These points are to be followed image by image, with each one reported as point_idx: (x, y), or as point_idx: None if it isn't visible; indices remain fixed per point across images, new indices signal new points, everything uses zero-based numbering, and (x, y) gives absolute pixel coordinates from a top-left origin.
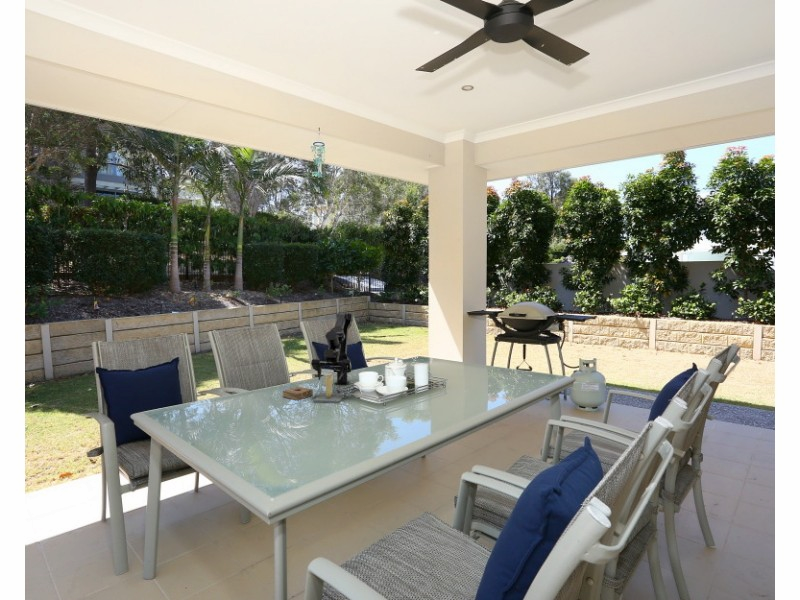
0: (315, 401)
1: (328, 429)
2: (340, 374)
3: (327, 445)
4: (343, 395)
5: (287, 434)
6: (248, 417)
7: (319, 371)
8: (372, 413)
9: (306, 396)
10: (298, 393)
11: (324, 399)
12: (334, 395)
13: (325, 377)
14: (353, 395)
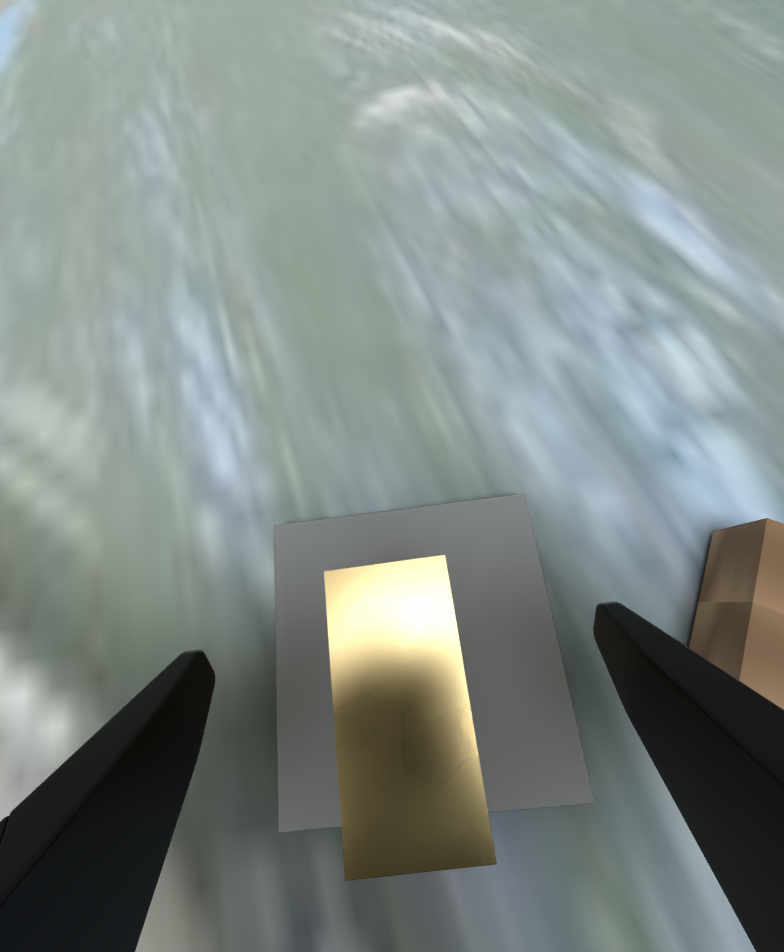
0: (503, 499)
1: (237, 110)
2: (75, 753)
3: (204, 5)
4: (279, 763)
5: (403, 30)
6: (772, 128)
7: (780, 768)
8: (13, 360)
9: None
10: (772, 543)
11: (429, 540)
12: None
13: (441, 556)
14: (189, 881)
